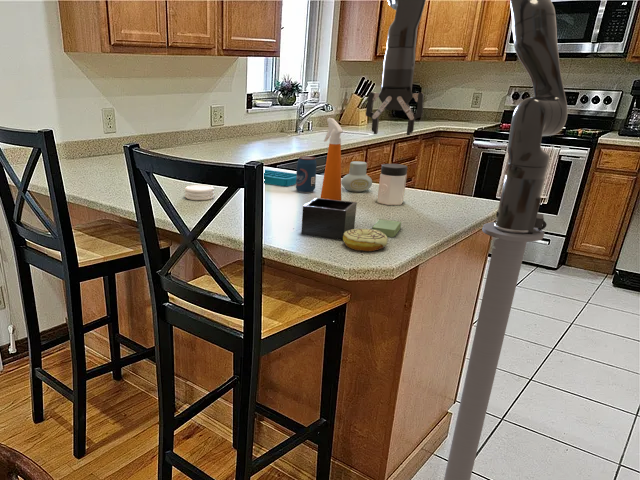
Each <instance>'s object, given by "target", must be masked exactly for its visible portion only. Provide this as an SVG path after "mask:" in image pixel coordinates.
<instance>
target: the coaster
mask: <svg viewBox="0 0 640 480" xmlns="http://www.w3.org/2000/svg"><path fill="white" fill-rule="evenodd" d="M206 185H207V184H191V185H187V186H186V187H185V188H184V197H185V198H186V199H187V200H191V201H209V200H212V199H214V197H215V191H214V190H215V188H214V186H212V185H210V186H206ZM213 194H214V195H213ZM212 195H213V196H212ZM210 196H211V197H210Z"/></svg>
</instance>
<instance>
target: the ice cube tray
mask: <svg viewBox="0 0 640 480" xmlns="http://www.w3.org/2000/svg"><path fill="white" fill-rule="evenodd" d="M264 169H265V168H264ZM296 175H297V173H294V172H286V171H279V170H273V169H272V170H271V169H265V173H264V179H265V181H264V183H263V184H266V185H271V186H272V185H273V186H279V187H290V186H293V185H296Z"/></svg>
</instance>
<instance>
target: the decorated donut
mask: <svg viewBox="0 0 640 480" xmlns="http://www.w3.org/2000/svg"><path fill="white" fill-rule="evenodd" d="M388 240H389V238H388V236H386V235H385V234H384V233H382V232H381V231H378V230H373V229H372V228H354V229H351V230H348V231H346V232H345V233H344V235H343V240H342V241H343V242H344V244H345V246H346V247H347V248H348V249H351V250H354V251H363V252H375V251H378V250H380V249H381V250H382V249H383V248H384V247H386V246H387V244H388Z"/></svg>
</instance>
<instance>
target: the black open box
mask: <svg viewBox="0 0 640 480" xmlns="http://www.w3.org/2000/svg"><path fill="white" fill-rule="evenodd" d="M357 203H358V202H357V201H349V200H342V199H341V200H331V199H322V198H320V197H314V198H313V199H312V200H310V201H308V202H306V203H304V205H302V216H301V236H309V237H316V238H324V239H331V240H332V239H333V240H337V241H344V240H343V235H344V233H345V232H346V231H348V230H351V229H355V225H356V214H357V205H358V204H357Z"/></svg>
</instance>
